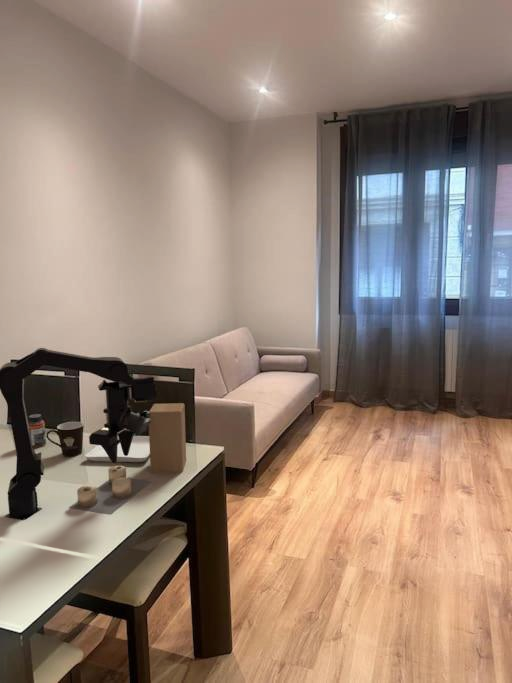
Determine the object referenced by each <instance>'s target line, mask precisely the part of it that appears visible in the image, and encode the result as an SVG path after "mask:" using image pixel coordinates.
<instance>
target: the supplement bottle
mask: <svg viewBox="0 0 512 683" xmlns="http://www.w3.org/2000/svg"><path fill="white" fill-rule="evenodd" d="M28 425H29V431H30V436H31V442H32V447H33V449H38V448H42V447H44V446H45V445H46V444H47V439H46V438H47V437H46V435H47V434H46V426H45V425H46V423H45V421H44V420H43V419H42V414H40V413H39V414H38V413H35V414H31V415H29V416H28Z"/></svg>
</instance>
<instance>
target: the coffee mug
mask: <svg viewBox="0 0 512 683" xmlns="http://www.w3.org/2000/svg"><path fill="white" fill-rule="evenodd" d="M84 426H85V424H84V423H83V422H80V421H68V422H64V423H60V424H58V425H57V426H56V429H50V430H48V431H47V433H46V434H45V435H46V438H47V439H46V440H48V441H49V442H50V443H52V444H53V445H56V446H58V447H59V448H60V450H61V455H62V456H63V457H66V458H71V457H77V456H80V455H81V454H82V453H83V441H84ZM52 432H53V433H55V434H56V435H57V436H58V439H59V443H58V442H56V441H54V440H52V439H51V438H50V437H49V434H50V433H52Z"/></svg>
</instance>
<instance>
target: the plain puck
mask: <svg viewBox="0 0 512 683" xmlns="http://www.w3.org/2000/svg"><path fill="white" fill-rule="evenodd" d="M129 478H130V477H126V478H118V479H115V480H113V481H112V491H113V498H115V499H124V498H128V497H129V496H131V480H130V479H129Z"/></svg>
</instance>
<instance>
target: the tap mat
mask: <svg viewBox="0 0 512 683" xmlns="http://www.w3.org/2000/svg"><path fill="white" fill-rule="evenodd" d="M128 478H129V479H130V480H131V496H129V497H128V498H124V499H115V498H113V491H112V485H110V484H109V479H108V480H105V482H104V483H102V484H101V485H99V486H97V497H98V503H97V504H96V505H95V506H92V507H89V508H81V507H79V506H78V500H77V501H76V502H75V503H73V504H72V505H70V506H69V507H68V509H74V510H79V511H84V512H85V511H86V512H93V513H97V514H102V515H103V514H104V515H109V516H110V515H112V514H114V513H115V512H117V511H118V509H120V508H121V507H122V506H124V505H125V504H126V503H128V502H129V501H130V500H131V499H132V498H134V496H136V495H137V494H138V493H140V492H141V491H142V490H144V489H145V488H146V487H147V486H149V484H151V483H153V481H152V480H148V479H140V478H133V477H132V478H131V477H128Z"/></svg>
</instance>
